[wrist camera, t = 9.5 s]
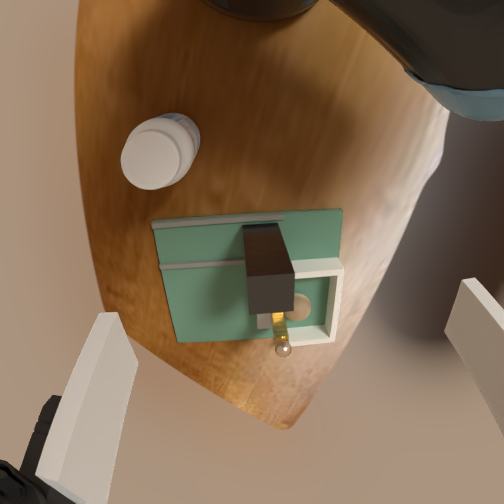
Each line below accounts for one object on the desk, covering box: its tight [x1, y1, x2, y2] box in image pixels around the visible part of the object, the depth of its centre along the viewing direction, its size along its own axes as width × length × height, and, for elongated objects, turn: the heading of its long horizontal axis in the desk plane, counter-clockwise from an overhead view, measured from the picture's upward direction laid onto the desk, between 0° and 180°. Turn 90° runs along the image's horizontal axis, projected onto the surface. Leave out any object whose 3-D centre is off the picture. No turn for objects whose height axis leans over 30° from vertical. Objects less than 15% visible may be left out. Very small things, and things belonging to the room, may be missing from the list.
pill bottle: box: [121, 113, 200, 190], centre depth 27 cm, size 6×6×11 cm
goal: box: [287, 257, 345, 346], centre depth 41 cm, size 12×7×4 cm, turn 2°
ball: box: [284, 293, 311, 321], centre depth 41 cm, size 4×4×4 cm
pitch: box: [151, 209, 343, 343], centre depth 41 cm, size 18×22×1 cm
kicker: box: [242, 223, 295, 357], centre depth 35 cm, size 14×4×11 cm, turn 2°
